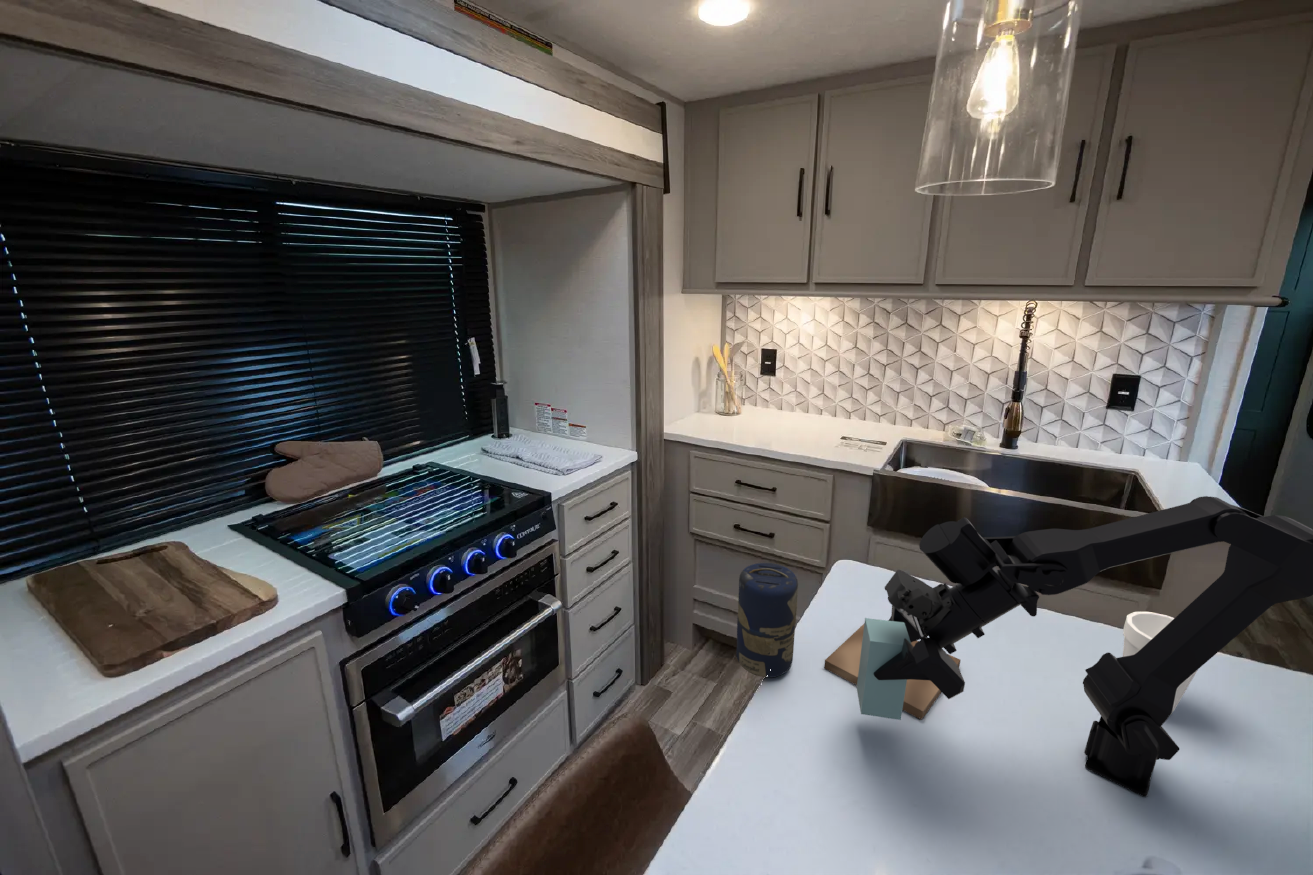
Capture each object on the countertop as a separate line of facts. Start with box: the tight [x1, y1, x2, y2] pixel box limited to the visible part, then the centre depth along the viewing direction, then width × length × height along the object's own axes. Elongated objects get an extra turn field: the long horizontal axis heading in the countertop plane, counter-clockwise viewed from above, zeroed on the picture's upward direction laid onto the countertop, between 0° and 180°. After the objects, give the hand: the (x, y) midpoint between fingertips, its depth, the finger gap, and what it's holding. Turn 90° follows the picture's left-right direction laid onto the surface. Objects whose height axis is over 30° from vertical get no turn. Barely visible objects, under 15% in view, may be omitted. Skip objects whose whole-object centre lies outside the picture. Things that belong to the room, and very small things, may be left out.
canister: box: [735, 562, 799, 678], centre depth 94 cm, size 10×10×18 cm
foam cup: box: [1122, 611, 1199, 715], centre depth 86 cm, size 10×9×13 cm
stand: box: [823, 623, 961, 721], centre depth 95 cm, size 16×16×5 cm
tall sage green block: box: [856, 617, 912, 721], centre depth 79 cm, size 5×5×12 cm
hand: (872, 663), depth 79 cm, fingers closed on tall sage green block, 5 cm apart
